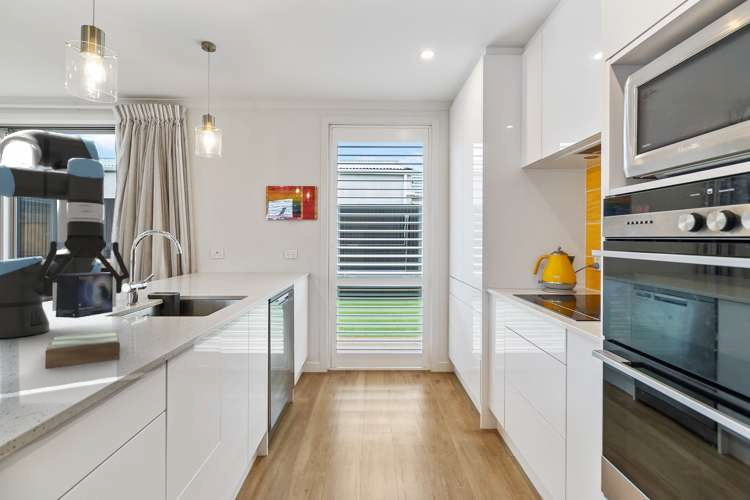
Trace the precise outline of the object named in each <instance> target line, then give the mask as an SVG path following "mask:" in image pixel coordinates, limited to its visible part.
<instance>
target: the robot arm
mask: <svg viewBox="0 0 750 500" xmlns="http://www.w3.org/2000/svg"><path fill="white" fill-rule="evenodd" d="M0 157H1V162H0V197H6V198H21V199H23V198H24V199H25V198H26V199H39V200H40V199H42V200H51V201H52V200H55V201H56V203H57V204H56V205H57V210H56V211H57V213H56V214H57V237H56V238H57V239H56V240H57V241H54V240H52V241H50V244H49V245H50V247H49V252H48V254H47V256H46V258H45V260H44V258H43V256H41V255H40V256H38V255H37V256H30V257H20V258H10V259H3V260H0V339H5V338H7V339H8V338H18V337H24V336H25V337H26V336H32V335H38V334H43V333H46V332H48V331H50V322H49V319H48V317H47V314H46V312H45V310H44V307H43V298H52V312H56V299H57V274H71V273H90V272H99V273H102V272H101V271H102V269H101V268H102V265H103V266H104V267H105V269H106V270H107V271H108V273H111V274H112V275H113V279H115V280H113V285H112V306H113V308H115V307H117V294H121V293H122V282H123V281H124V280H126V279H129V278H130V273H129V271H128V268H127V267H126V265H125V262H124V260H123V258H122V255H121V253H120V251H119V250H120V249H119V247H120V246H119V242H117V241H114V242H106V240H105V223H103V221H104V220H105V201H104V200H105V177H106V173H105V165H104V164H103V162H101V161H100V154H99V148H98V144H97V143H96V142H95V140H94V139H92V138H90V137H89V138H88V137H84V136H80V135H72V134H66V133H65V134H64V133H60V132H53V131H46V130H42V129H41V130H40V129H26V130H19V131H16V132H13V133H11V134H8V135H7V136H5V137H4V138H3V139H2V140H1V142H0ZM39 167H41V168H42V169H41V168H39ZM43 168H48V169H51V170H48V169H43ZM106 247H107V248H108V249H109V250H110V251H112V252H113V255H114V257H115V260H116V262H117V264H118V267H119V268H120V271H121V273H122V274H119V273H118V271H116V270H115V268H114V267H113V266H112V265H111V264H110V262H109V261H108V260H107V259H106V257H105V256H104V254H102V252H103V250H104V249H105V248H106ZM96 258H97V259H96Z"/></svg>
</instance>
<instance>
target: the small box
mask: <svg viewBox="0 0 750 500" xmlns="http://www.w3.org/2000/svg"><path fill="white" fill-rule="evenodd" d="M113 281H114V277H113V275H112V274H111V273H110V272H100V273H99V272H90V273H71V274H57V299H56V311H55V318H65V319H67V318H69V319H70V318H71V319H79V318H84V317H90V316H95V315H96V316H97V315H102V314H109V313H113V308H114V307H113V306H112V285H113Z"/></svg>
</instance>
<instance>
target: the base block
mask: <svg viewBox="0 0 750 500" xmlns="http://www.w3.org/2000/svg"><path fill="white" fill-rule="evenodd" d="M120 343H121V341H120V336H119V331H118V330H110V331H109V330H108V331H101V332H100V331H99V332H98V331H97V332H89V333H80V334H79V333H78V334H67V335H56V336H54V337H52V338H51V340H50V342H49V344H48V345H47V347H46V349H45V350H44V351H45V356H44V357H45V358H44V359H45V361H44V362H45V365H44V368H45V369H53V368H58V367H59V368H60V367H61V368H62V367H68V366H75V365H82V364H83V365H84V364H91V363H98V362H105V361H113V360H120V359H121V356H120V353H121V351H120V350H121V346H120V345H121V344H120Z"/></svg>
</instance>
